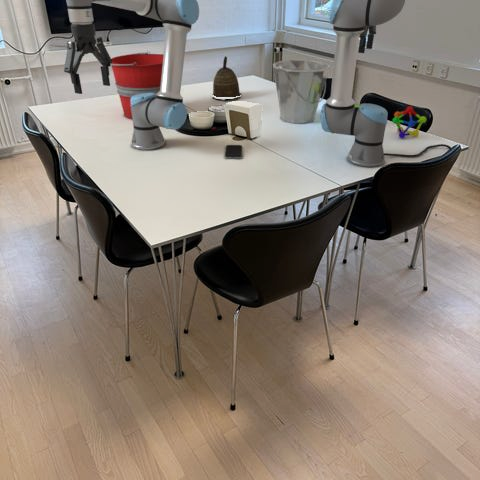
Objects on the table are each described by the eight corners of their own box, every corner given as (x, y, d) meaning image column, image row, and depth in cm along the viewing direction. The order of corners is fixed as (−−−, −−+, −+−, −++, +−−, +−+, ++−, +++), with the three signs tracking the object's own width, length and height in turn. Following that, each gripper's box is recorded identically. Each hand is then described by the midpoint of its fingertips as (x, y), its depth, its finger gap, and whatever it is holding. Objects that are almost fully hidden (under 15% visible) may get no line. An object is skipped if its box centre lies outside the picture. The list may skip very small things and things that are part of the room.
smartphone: (224, 157, 192) (226, 144, 205) (224, 158, 193) (226, 146, 205) (241, 157, 192) (242, 145, 205) (241, 158, 193) (242, 146, 205)
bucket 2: (298, 130, 226) (303, 73, 211) (259, 117, 244) (260, 64, 230) (335, 119, 242) (342, 65, 228) (296, 107, 261) (299, 57, 246)
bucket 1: (123, 104, 265) (116, 50, 249) (181, 105, 264) (178, 51, 248) (106, 122, 236) (97, 62, 220) (172, 123, 235) (167, 63, 219)
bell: (227, 105, 294) (202, 96, 282) (238, 66, 289) (213, 55, 277) (243, 108, 280) (217, 98, 268) (255, 66, 275) (229, 55, 263)
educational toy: (387, 140, 216) (390, 109, 209) (393, 133, 226) (396, 103, 219) (421, 142, 209) (425, 110, 202) (425, 135, 219) (429, 104, 212)
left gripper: (60, 27, 135) (74, 98, 146) (116, 20, 154) (125, 83, 165) (43, 26, 138) (58, 95, 149) (100, 19, 157) (109, 81, 168)
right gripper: (373, 2, 190) (365, 55, 201) (387, -1, 208) (379, 47, 220) (356, 1, 193) (349, 53, 204) (371, -2, 211) (364, 46, 223)
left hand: (93, 89), depth 157 cm, fingers open, 13 cm apart
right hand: (365, 50), depth 212 cm, fingers open, 13 cm apart
